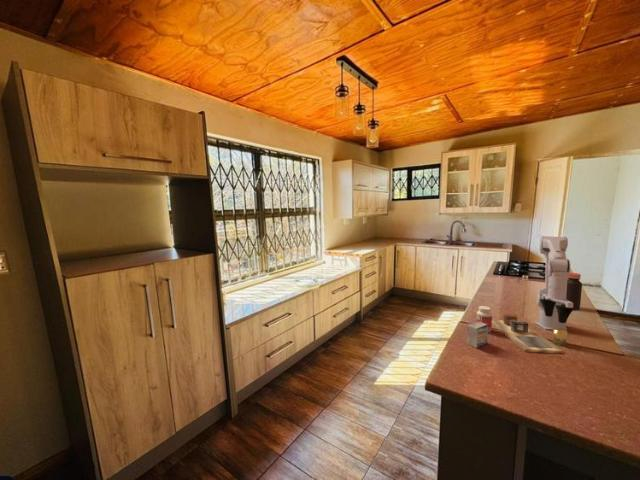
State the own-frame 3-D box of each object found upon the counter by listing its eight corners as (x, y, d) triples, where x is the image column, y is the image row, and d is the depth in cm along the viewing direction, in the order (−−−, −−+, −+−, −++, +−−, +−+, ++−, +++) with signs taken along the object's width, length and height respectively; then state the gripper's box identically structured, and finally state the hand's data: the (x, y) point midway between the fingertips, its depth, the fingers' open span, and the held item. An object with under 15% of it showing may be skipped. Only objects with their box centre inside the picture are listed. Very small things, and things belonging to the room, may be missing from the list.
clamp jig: (519, 322, 131) (520, 312, 130) (563, 353, 103) (564, 340, 103) (489, 321, 133) (490, 312, 132) (524, 351, 105) (525, 339, 105)
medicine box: (476, 348, 109) (477, 328, 108) (466, 343, 113) (466, 324, 112) (487, 343, 112) (488, 324, 111) (477, 339, 116) (478, 320, 115)
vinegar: (566, 309, 145) (569, 274, 143) (560, 305, 151) (563, 272, 149) (582, 311, 142) (585, 275, 140) (576, 306, 149) (579, 272, 146)
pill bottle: (493, 330, 124) (494, 308, 123) (487, 333, 121) (488, 311, 119) (479, 325, 129) (480, 304, 128) (473, 328, 126) (474, 307, 125)
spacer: (560, 341, 112) (562, 328, 112) (569, 346, 108) (570, 332, 107) (549, 340, 113) (550, 327, 112) (557, 346, 109) (558, 332, 108)
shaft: (514, 323, 128) (514, 315, 127) (526, 331, 119) (526, 323, 118) (503, 322, 128) (503, 315, 128) (514, 331, 120) (514, 322, 119)
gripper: (535, 283, 116) (533, 313, 117) (559, 291, 102) (557, 325, 103) (552, 284, 115) (550, 314, 116) (580, 292, 101) (577, 326, 102)
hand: (555, 319), depth 109 cm, fingers open, 7 cm apart
